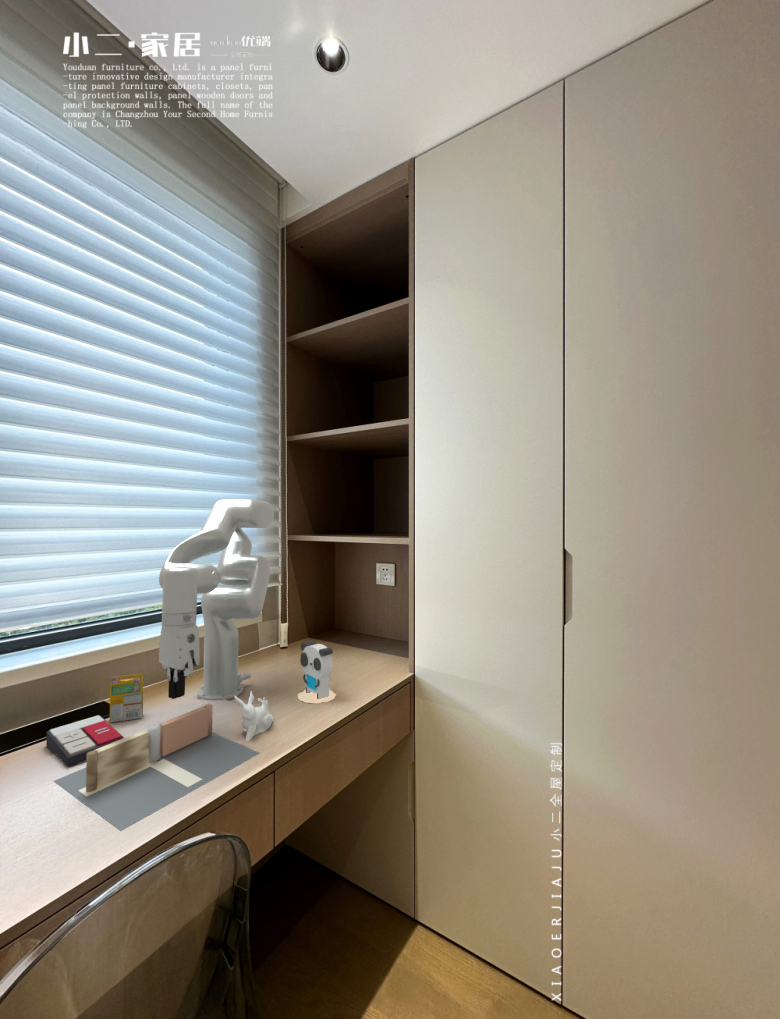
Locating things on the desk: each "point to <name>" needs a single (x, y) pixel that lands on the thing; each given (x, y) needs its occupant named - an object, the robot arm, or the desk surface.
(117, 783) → the mat
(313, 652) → the panda figurine
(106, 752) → the panel
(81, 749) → the calculator
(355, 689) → the desk surface
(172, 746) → the fence swing panel
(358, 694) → the desk surface
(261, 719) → the rabbit figurine
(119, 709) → the crayon box
